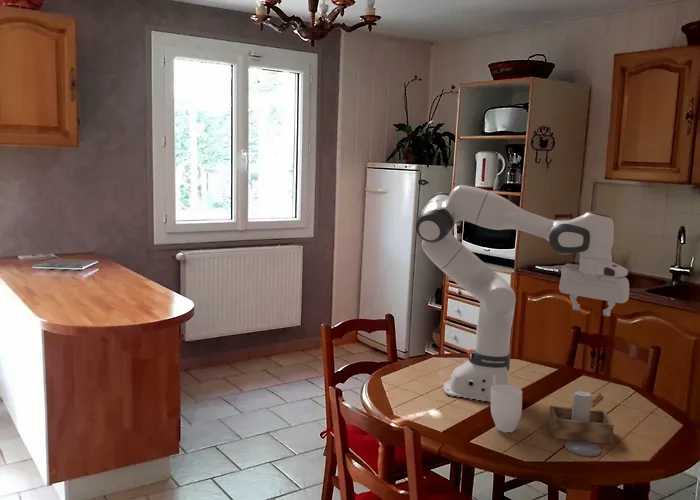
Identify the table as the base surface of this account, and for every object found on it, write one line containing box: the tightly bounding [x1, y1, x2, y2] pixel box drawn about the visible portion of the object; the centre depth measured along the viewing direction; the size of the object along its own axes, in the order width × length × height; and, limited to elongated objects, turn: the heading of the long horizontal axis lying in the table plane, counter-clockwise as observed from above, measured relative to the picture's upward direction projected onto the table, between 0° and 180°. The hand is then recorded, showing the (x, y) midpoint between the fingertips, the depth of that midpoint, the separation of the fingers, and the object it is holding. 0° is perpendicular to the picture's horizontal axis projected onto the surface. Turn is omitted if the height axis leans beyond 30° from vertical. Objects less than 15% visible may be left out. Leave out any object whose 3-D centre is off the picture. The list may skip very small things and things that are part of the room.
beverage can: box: [571, 390, 592, 422], centre depth 179 cm, size 5×5×12 cm
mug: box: [490, 384, 523, 433], centre depth 182 cm, size 12×9×12 cm
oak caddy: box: [548, 405, 615, 445], centre depth 180 cm, size 16×11×6 cm
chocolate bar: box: [591, 390, 603, 407], centre depth 207 cm, size 3×12×2 cm, turn 143°
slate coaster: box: [564, 440, 602, 458], centre depth 170 cm, size 9×9×1 cm
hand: (590, 312), depth 187 cm, fingers open, 8 cm apart
